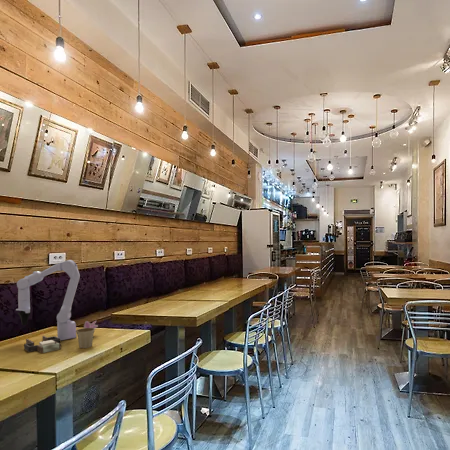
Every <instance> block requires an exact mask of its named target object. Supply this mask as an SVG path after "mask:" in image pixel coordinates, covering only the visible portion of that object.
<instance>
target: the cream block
mask: <svg viewBox="0 0 450 450" xmlns="http://www.w3.org/2000/svg"><path fill="white" fill-rule="evenodd" d="M51 344H55V342H54V341H53V340H48V341H43V340H42V341H39V344H38V345H40V346H41V347H43V346H46V345H51Z"/></svg>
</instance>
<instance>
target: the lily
mask: <svg viewBox="0 0 450 450" xmlns="http://www.w3.org/2000/svg"><path fill="white" fill-rule="evenodd" d="M96 323H97V320H95V321H93V322H92V323H91V321H88V320H85V322H84V324H83V328H95V329H97V328H98V327H99V325H98V324H96ZM93 339H94V336H93Z"/></svg>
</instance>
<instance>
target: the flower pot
mask: <svg viewBox="0 0 450 450" xmlns="http://www.w3.org/2000/svg"><path fill="white" fill-rule="evenodd" d="M95 330H96V328H84V327H82V328H77V329H76V336H77V340H78V347H79V348H80V349H82V348H83V349H88V348H91V347H92V346H93V342H94V341H93V340H94V338H93V337H94V333H95Z"/></svg>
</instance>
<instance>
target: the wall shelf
mask: <svg viewBox="0 0 450 450" xmlns="http://www.w3.org/2000/svg"><path fill="white" fill-rule="evenodd" d="M48 340H53V341H54V342H55V344H51V345H46V346H43V347H41V346H40V345H39V344H36V345H35V342H34V341H32V340H31V339H29V338H26V339H25V343H24V344H23V349H24V350H25V351H26V352H27V353H30V352H38V353H39V352H40V353H41V354H44V353H49V352H53V351H58V350H61V349H62V344H61V340H60V338H58V336H55V335H54V336H49V337H48V336H45V335H42V342H43V341H48Z"/></svg>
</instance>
